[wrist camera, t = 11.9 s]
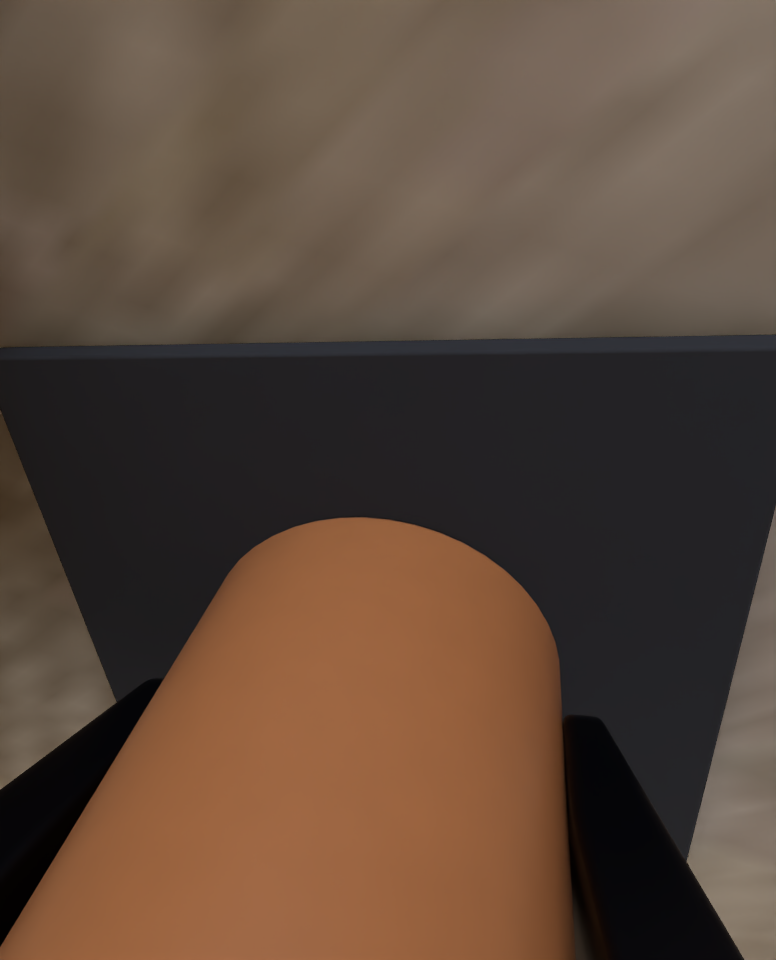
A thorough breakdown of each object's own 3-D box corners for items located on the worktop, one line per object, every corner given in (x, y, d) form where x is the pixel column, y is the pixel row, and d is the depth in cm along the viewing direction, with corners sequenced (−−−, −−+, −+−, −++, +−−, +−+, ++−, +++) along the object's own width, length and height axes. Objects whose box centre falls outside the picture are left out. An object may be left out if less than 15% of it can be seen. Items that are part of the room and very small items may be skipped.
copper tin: (579, 513, 8) (690, 1413, 2) (557, 793, 10) (588, 1527, 5) (171, 501, 8) (-362, 1125, 3) (244, 759, 11) (-1, 1345, 6)
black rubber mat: (803, 332, 7) (818, 345, 6) (675, 865, 11) (680, 890, 11) (0, 346, 8) (-24, 357, 8) (172, 802, 13) (163, 821, 12)
